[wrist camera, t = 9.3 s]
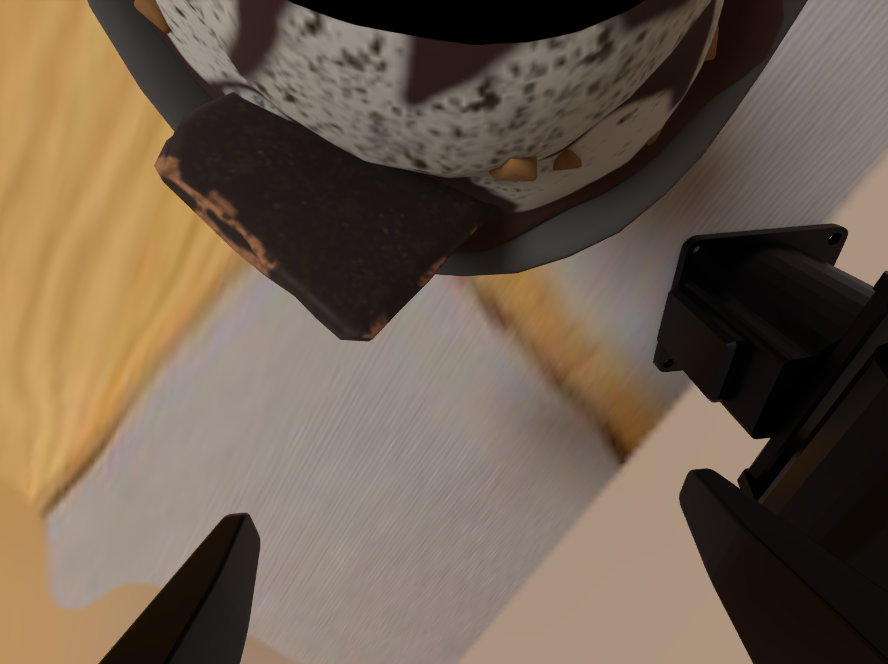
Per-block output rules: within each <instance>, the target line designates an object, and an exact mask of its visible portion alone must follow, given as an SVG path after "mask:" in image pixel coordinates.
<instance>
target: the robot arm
mask: <svg viewBox="0 0 888 664" xmlns="http://www.w3.org/2000/svg"><path fill="white" fill-rule="evenodd" d="M831 236H832V237H831ZM847 236H848V231H847V229H846V228H844V227H842V226H840V225H837V224H821V225H810V226H799V227H787V228H776V229H765V230H753V231H742V232H731V233H720V234H708V235H697V236H693V237H691V238H689V239H688V240H687V241H686V242H685V243H684V244H683V246H682V248H681V252H680V256H679V260H678V264H677V268H676V272H675V276H674V280H673V284H672V288H671V290H670V291H669V293H668V297H667V301H666V305H665V309H664V313H663V317H662V321H661V325H660V329H659V333H658V337H657V341H658V343H657V347H656V351H655V355H654V360H653V363H654V364H655V366H656V367H657V368H658V369H659V370H660V371H662V372H671V371H681V370H683V371H684V372H685V373H686V374H687V376H688V377H689V378H690V379H691V380H692V381H693V382H694V384H695V385H696V386H697V387H698V388H699V389H700V391H701V392H702V393H703V394H704V395H705V396H706V397H707V398H708V399H709V400H710V401H711V402H721V403H722V405H723V406H724V407H725V408H726V409H727V410H728V411H729V413H730V414H731V415H732V416H733V417H734V418H735V419H736V420H737V421H738V423H739V424H740V425H741V426H742V427H743V428H744V429H745V430H746V432H747V433H748V434H749V435H750V436H751V437H752V438H753V439H763V438H770V440H769V441H768V442H767V444H766V445H765V447H764V448H763V449H762V451H761V452H760V454H759V455H758V456H757V458H756V459H755V461H754V462H753V463H752V465H751V466H750V468H747V469H745V470H744V471H743V472H742V474H741V475H740V477H739V478H738V480H737V481H738V484H739V487H740V488H738V487H737V486H735V485H734V484H733V483H731V482H730V481H728V480H727V479H725V478H724V477H723V476H721V475H720V474H718V473H717V472H715V471H714V470H711V469H695V470H691V471H689V473H688V474H687V476H686V479H685V482H684V484H683V486H682V489H681V491H680V495H679V500H680V505H681V508H682V511H683V513H684V515H685V518H686V520H687V523H688V526H689V528H690V531H691V533H692V536H693V538H694V541H695V543H696V546H697V548H698V551H699V553H700V556H701V558H702V561H703V563H704V566H705V568H706V571H707V573H708V575H709V577H710V580H711V582H712V584H713V586H714V588H715V590H716V592H717V594H718V596H719V598H720V600H721V602H722V604H723V606H724V608H725V609H726V611H727V613H728V615H729V617H730V619H731V621H732V623H733V625H734V627H735V629H736V631H737V633H738V635H739V637H740V639H741V641H742V643H743V645H744V647H745V648H746V650H747V652H748V654H749V656H750V658H751V660H752V662H753V664H888V271H885V272H884V273H883V274H882V276H881V277H880V279H879V280H878V281H877V283H876V284H875V286H874V287H873V286H871V285H869V284H867V283H865V282H863V281H861V280H859V279H857V278H855V277H853V276H851V275H850V274H848V273H846V272H844V271H842V270H840V269H838V268H836V267H834V265H835V263H836V260H837V258H838V256H839V254H840V252H841V250H842V248H843V245H844V243H845V241H846V239H847ZM830 237H831V238H830ZM829 238H830V239H829ZM697 246H700V248H699V250H698V251H697V252H695V253H693V251H694V249H695V248H696V247H697ZM666 360H667V361H666ZM664 361H666V362H664ZM259 552H260V537H259V534H258V532H257V529H256V527H255V525H254V523H253V521H252V519H251V517H250V515H249V514H248V513H236V514H229V515H227V516H225V517H224V518H223V519H222V520H221V521H220V522H219V523H218V524H217V526H216V527H215V528H214V529H213V530H212V531H211V533H210V534H209V535H208V536H207V537H206V538H205V540H204V541H203V542H202V543H201V544H200V545H199V547H198V548H197V549H196V550H195V551H194V552H193V554H192V555H191V556H190V557H189V558H188V559H187V561H186V562H185V563H184V564H183V565H182V567H181V568H180V569H179V570H178V571H177V572H176V574H175V575H174V576H173V577H172V578H171V579H170V581H169V582H168V583H167V584H166V585H165V586H164V588H163V589H162V590H161V591H160V592H159V593H158V595H157V596H156V597H155V598H154V599H153V600H152V602H151V603H150V604H149V605H148V606H147V608H146V609H145V610H144V611H143V612H142V613H141V614H140V616H139V617H138V618H137V619H136V620H135V622H134V623H133V624H132V625H131V626H130V627H129V629H128V630H127V631H126V632H125V633H124V634H123V636H122V637H121V638H120V639H119V640H118V642H117V643H116V644H115V645H114V646H113V647H112V648H111V650H110V651H109V652H108V653H107V654H106V655H105V657H104V658H103V659H102V660H101V661H100V663H99V664H240V661H241V657H242V653H243V649H244V645H245V640H246V636H247V631H248V626H249V620H250V614H251V607H252V600H253V593H254V586H255V580H256V573H257V566H258V559H259Z"/></svg>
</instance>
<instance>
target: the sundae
mask: <svg viewBox="0 0 888 664" xmlns="http://www.w3.org/2000/svg"><path fill="white" fill-rule="evenodd" d="M807 1H808V0H88V3H89V6H90V8H91V9H92V11H93V13H94V14H95V16H96V17H97V19H98V21H99V22H100V24H101V26H102V27H103V29H104V30H105V32H106V34H107V35H108V37H109V39H110V40H111V42H112V43H113V45H114V47H115V48H116V50H117V51H118V53H119V55H120V56H121V58H122V60H123V61H124V63H125V64H126V66H127V68H128V69H129V71H130V73H131V74H132V76H133V77H134V79H135V81H136V82H137V84H138V86H139V87H140V89H141V90H142V91H143V93H144V94H145V95H146V96H147V98H148V99H149V100H150V101H151V103H152V104H153V105H154V106H155V108H156V109H157V110H158V111H159V113H160V114H161V115H162V116H163V118H164V119H165V120H166V121H167V123H168V124H169V125H170V126H171V128H172V129H173V130H174V131H175V132H174V134H173V136H172V137H171V138H169V139H168V140H167V141H166V143H165V145H164V147H163V149H162V151H161V153H160V155H159V157H158V159H157V161H156V163H155V165H154V166H155V168H156V170H157V172H158V173H159V175H160V177H161V179H162V180H163V182H164V183H165V184H166V185H167V186H168V187H169V188H170V189H171V190H172V191H173V192H174V193H176V194H177V195H178V196H179V197H180V198H181V199H182V200H183V201H184V202H185V203H186V204H187V205H188V206H189V207H190V208H191V209H192V210H193V211H194V212H195V213H196V214H197V215H198V216H199V217H200V218H201V219H202V220H203V221H204V222H206V223H207V224H208V225H209V226H210V227H211V228H212V229H213V230H214V231H215V232H216V233H217V234H218V235H219V236H220V237H221V238H222V239H223V240H224V241H225V242H226V243H227V244H228V245H229V246H230V247H231V248H232V249H233V250H234V251H236V252H237V253H238V254H239V255H240V256H242V257H243V258H244V259H245V260H246V261H248V262H249V263H250V264H251V265H253V266H254V267H255V268H256V269H257V270H259V271H260V272H261V273H262V274H263V275H265V276H266V277H268V278H269V279H271V280H272V281H274V282H275V283H276V284H278V285H279V286H281V287H282V288H284V289H285V290H287V291H288V292H289V293H291V294H292V295H294V296H295V297H296V298H297V299H298V300H299V301H300V302H301V303H302V304H303V305H304V306H305V307H306V308H307V309H308V310H309V311H310V312H311V313H312V314H313V315H314V317H315V318H316V319H318V320H319V321H320V322H321V323H322V324H323V325H324V326H326V327H327V328H328V329H329V330H330V331H331V332H332V333H333V334H335V335H336V336H337V337H338V338H339V339H340V340H353V341H370V340H372V339H373V338H374V337H375V336H376V335H377V334H378V333H379V332H380V331H381V330H382V329H383V328H384V327H385V326H386V324H387V323H388V322H389V321H390V320H391V319H392V318H393V317H394V316H395V315H396V314H397V313H398V312H399V311H400V310H401V309H402V308H403V307H404V306H405V305H406V304H407V303H408V302H409V301H410V300H411V299H412V298H413V297H414V296H415V295H416V294H417V293H418V292H419V291H420V290H421V289H422V288H423V287H424V286H425V285H426V284H427V283H428V282H429V281H430V279H431V278H432V277H433V276H434V275H435V274H440V275H454V276H476V275H494V274H512V273H519V272H522V271H526V270H529V269H532V268H535V267H538V266H542V265H545V264H548V263H551V262H554V261H557V260H561V259H564V258H567V257H570V256H572V255H574V254H576V253H578V252H580V251H582V250H584V249H586V248H588V247H590V246H592V245H594V244H596V243H599V242H601V241H603V240H605V239H607V238H609V237H611V236H613V235H615V234H617V233H619V232H620V231H621V230H623V229H624V228H625V227H626V226H628V225H629V224H630V223H631V222H632V221H634V220H635V219H636V218H637V217H639V216H640V215H641V214H642V213H643V212H645V211H646V210H647V209H648V208H649V207H651V206H652V205H653V204H654V203H656V202H657V201H658V200H659V199H660V198H662V197H663V196H664V195H665V194H666V193H667V192H668V191H669V190H670V189H671V188H672V187H673V186H674V185H675V184H676V183H677V182H678V181H679V180H680V179H681V178H682V177H683V176H684V175H685V174H686V173H687V172H688V170H689V169H690V168H691V167H692V166H693V165H694V164H695V163H696V162H697V161H698V160H699V159H700V158H701V157H702V155H703V154H704V153H705V151H706V150H707V149H708V147H709V146H710V145H711V143H712V142H713V141H714V139H715V138H716V136H717V135H718V134H719V132H720V131H721V130H722V128H723V127H724V126H725V124H726V123H727V121H728V120H729V119H730V117H731V116H732V115H733V113H734V112H735V110H736V109H737V108H738V106H739V105H740V103H741V102H742V100H743V99H744V97H745V96H746V94H747V93H748V91H749V90H750V88H751V87H752V86H753V84H754V83H755V81H756V80H757V78H758V77H759V75H760V74H761V72H762V71H763V69H764V68H765V66H766V65H767V64H768V62H769V60H770V59H771V57H772V56H773V54H774V53H775V51H776V49H777V48H778V46H779V45H780V43H781V42H782V40H783V38H784V37H785V35H786V34H787V32H788V30H789V29H790V27H791V26H792V24H793V23H794V21H795V19H796V18H797V16H798V15H799V13H800V12H801V10H802V8H803V7H804V5H805V4H806V2H807Z"/></svg>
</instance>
